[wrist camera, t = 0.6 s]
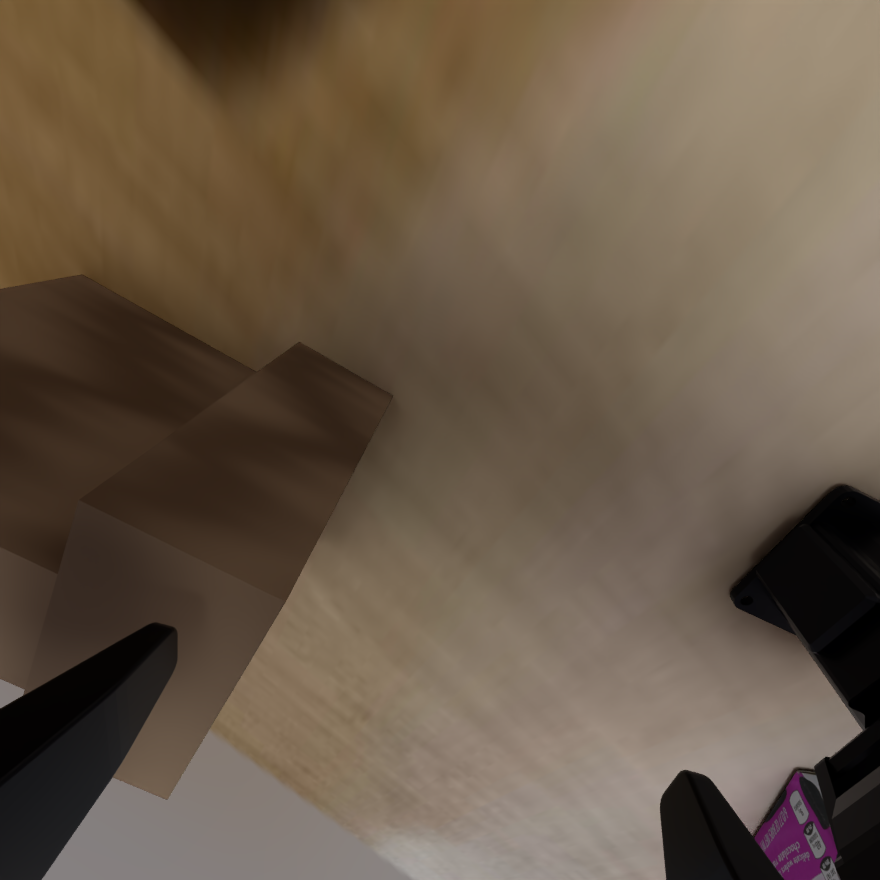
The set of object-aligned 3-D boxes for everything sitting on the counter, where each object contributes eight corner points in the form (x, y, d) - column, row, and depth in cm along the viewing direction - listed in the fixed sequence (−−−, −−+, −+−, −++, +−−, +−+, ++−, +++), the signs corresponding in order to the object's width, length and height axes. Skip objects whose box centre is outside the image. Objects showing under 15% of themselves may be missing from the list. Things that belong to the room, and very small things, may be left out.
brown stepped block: (393, 395, 19) (285, 601, 9) (310, 537, 22) (167, 800, 13) (93, 223, 18) (-426, 250, 8) (52, 403, 21) (-348, 586, 11)
